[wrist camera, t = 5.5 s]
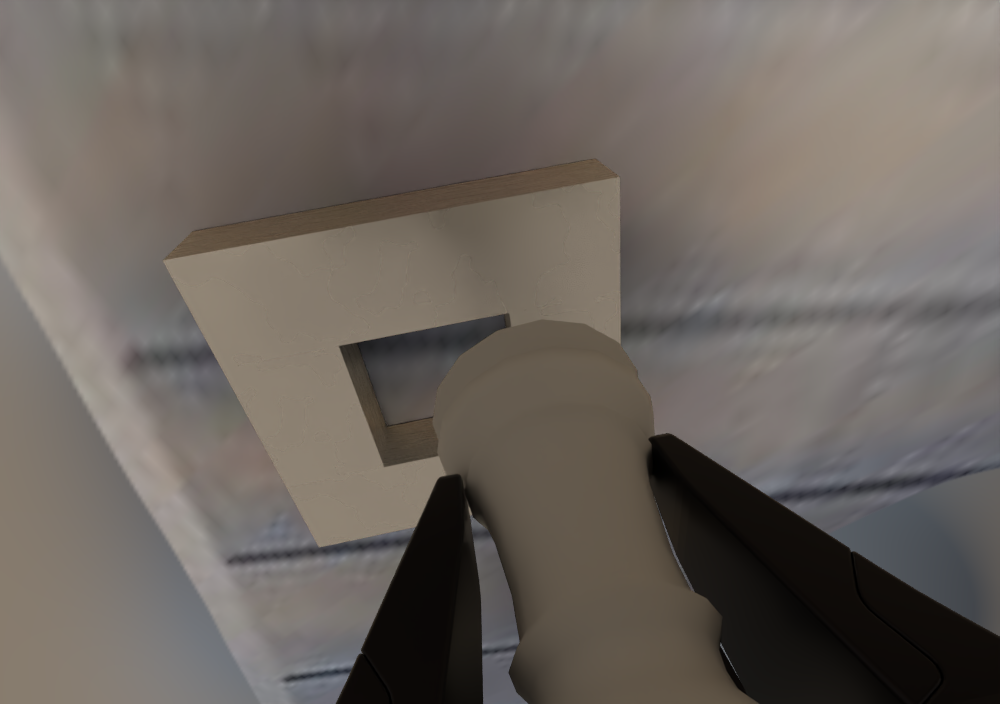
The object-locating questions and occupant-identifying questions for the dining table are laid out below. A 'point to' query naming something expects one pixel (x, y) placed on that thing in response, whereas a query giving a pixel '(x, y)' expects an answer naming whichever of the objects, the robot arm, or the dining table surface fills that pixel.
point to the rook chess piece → (577, 520)
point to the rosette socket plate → (388, 318)
